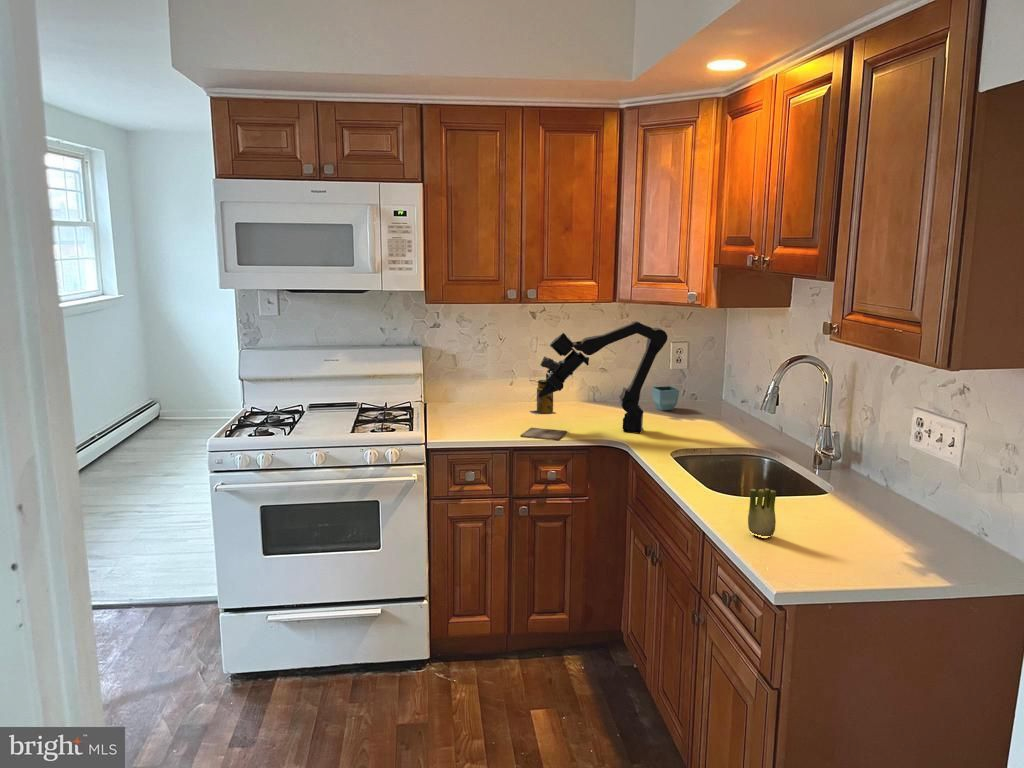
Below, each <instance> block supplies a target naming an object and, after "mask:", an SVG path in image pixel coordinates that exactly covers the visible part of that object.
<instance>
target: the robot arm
mask: <svg viewBox="0 0 1024 768" xmlns="http://www.w3.org/2000/svg"><path fill="white" fill-rule="evenodd" d="M635 334H636V335H637V334H638V335H640V336H643V337H645V338H647V340H646V346H645V351H644V353H643V356H642V358H641V360H640V362H639V364H638V367H637V369H636V371H635V374H634V375H633V378H632V380H631V382H630V385H629V386H628V387H627V388H626V387H622V392H621V394H620V395H619V404H620V405H621V408H622V409H623V411H625V413H624V417H623V418H622V432H623V431H628V432H627V433H632V432H638V433H637V434H641V433H642V432H643V431H644V428H643V427H644V425H643V423H644V422H643V421H644V420H643V419H644V411H643V408H642V407H641V406H640V405H639V403H640V399H641V390H642V388H643V386H644V383H645V382H646V379H647V377H648V374H649V372H650V369H651V368H652V366H653V364H654V362H655V361H654V360H655V358H656V356H657V355H658V354H659V352H660V351H662V349H663V348H664V346H665V344H666V343H667V341H668V335H667V332H666V331H665V330H663V329H662V328H660V327H650V326H648V325H645V324H643V323H641V322H639V321H637V320H634V321H632V322H631V323H629V324H626V325H624V326H621V327H619V328H615V329H614V330H611V331H609V332H605V333H604V334H600V335H594V336H587V337H585V338H583V339H582V340H578V341H572V340H571V339H570V338H569V337H568V336H567V334H566V333H564V332H562V333H561V334H560V335H558V336H557V337H555V338H554V339H553V340H552V342H550V344H549V347H551V348H552V349H553V350H554V352H556V353H557V355H559V356H560V357H561V356H563V357H565V358H563V360H559V361H556V360H554V359H553V358H550V357H547V356H543V358H542V360H541V363H540V366H541V367H542V368H545V369H547V370H546V373H545V380H546V385H545V386H544V387H543V389H542V390H541V392H540V393H539V394H538V396H539V397H542V396H545V395H547V394H550V393H553V394H554V393H555V392H558V391H559V392H561V390H563V389H564V383H565V382H566V380H567V379H568V378H569V377H570V376H572V375H573V374H574V372H575V371H576V370H577V369H579V367H580V366H581V365H582V364H583V363H584V364H585V365H586V366H589V365H590V363H589V361H590V357H589V356H593V355H594V354H596V353H597V352H599V351H600V350H602V349H604V348H605V347H606V346H608V345H610V344H613V343H616V342H617V341H620V340H624V339H625V338H628V337H631V336H633V335H635ZM577 351H578V352H577ZM585 355H586V356H585ZM642 430H643V431H642ZM641 431H642V432H641ZM640 432H641V433H640Z"/></svg>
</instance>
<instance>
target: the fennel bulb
mask: <svg viewBox="0 0 1024 768" xmlns="http://www.w3.org/2000/svg"><path fill="white" fill-rule="evenodd" d="M756 491H757V490H756V489H755V488H751V489H750V491H749V496H750V497H749V506H748V507H749V508H748V514H747V515H748V516H747V526H748V530H749V532H750V531H751V532H752V533H754V534H757V535H761V536H771V535H772V536H773V535H774V533H775V531H776V526H777V525H776V523H777V522H776V520H777V519H776V511H775V507H776V506H775V504H776V496H777V491H776V490H773V489H769V488H768V487H767V488H765V489H761V488H760V489H758V492H757V493H756ZM756 496H757V497H756ZM772 536H771V537H772Z"/></svg>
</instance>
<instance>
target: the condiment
mask: <svg viewBox="0 0 1024 768" xmlns="http://www.w3.org/2000/svg"><path fill="white" fill-rule="evenodd" d="M545 385H546V379H539V380H538V381H537V387H536V410H528V412H529V413H530V414H533V415H535V416H537V415H538V416H539V415H541V416H542V415H555V414H557V412H556V411H555V412H554V392H553V393H550V394H547V395H545V396H542V397H539V396H538V394H539V393H540V392H541V390H542V389H543V387H544V386H545Z"/></svg>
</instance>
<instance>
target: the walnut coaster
mask: <svg viewBox="0 0 1024 768" xmlns="http://www.w3.org/2000/svg"><path fill="white" fill-rule="evenodd" d="M566 434H568V430H562V429H552V428H541V427H530V428H528V429H527V430H526V431H524V432H522V433H521V434H519V435H520V436H519V437H520V438H529V439H530V438H531V439H532V438H533V439H540V440H552V441H559V440H561V439H562V438H563V436H565V435H566Z"/></svg>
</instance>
